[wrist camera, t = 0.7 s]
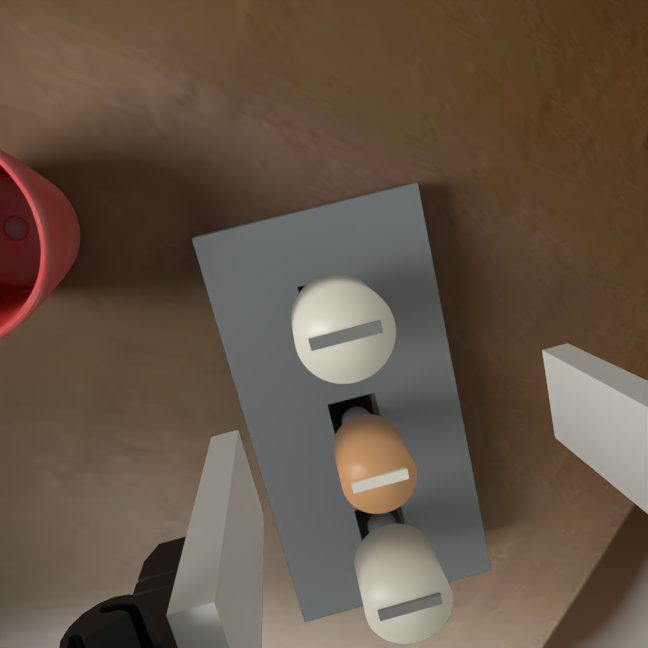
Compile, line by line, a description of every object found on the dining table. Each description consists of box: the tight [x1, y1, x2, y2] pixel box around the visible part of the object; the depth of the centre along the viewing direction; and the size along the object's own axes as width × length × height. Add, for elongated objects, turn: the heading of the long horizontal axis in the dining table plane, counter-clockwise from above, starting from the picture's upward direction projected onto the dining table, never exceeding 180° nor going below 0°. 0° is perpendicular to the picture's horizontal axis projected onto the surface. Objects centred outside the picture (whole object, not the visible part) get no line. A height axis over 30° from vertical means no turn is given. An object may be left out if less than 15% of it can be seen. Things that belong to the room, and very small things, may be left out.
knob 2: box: [354, 512, 453, 644], centre depth 34 cm, size 5×5×8 cm
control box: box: [192, 183, 491, 622], centre depth 38 cm, size 14×28×4 cm, turn 13°
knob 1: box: [291, 273, 396, 384], centre depth 30 cm, size 5×5×8 cm
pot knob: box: [333, 407, 417, 514], centre depth 32 cm, size 4×4×8 cm
